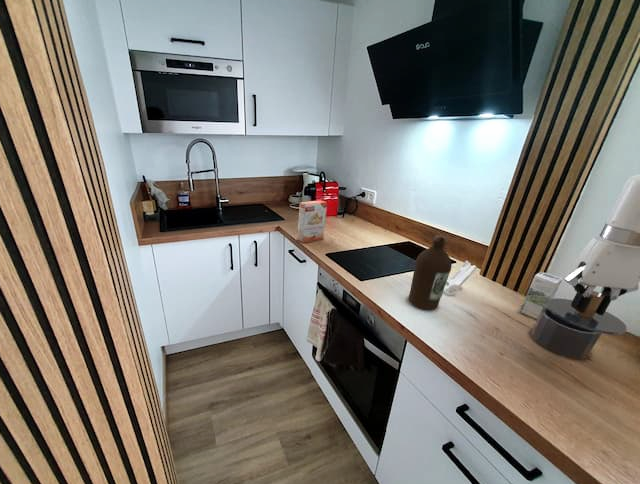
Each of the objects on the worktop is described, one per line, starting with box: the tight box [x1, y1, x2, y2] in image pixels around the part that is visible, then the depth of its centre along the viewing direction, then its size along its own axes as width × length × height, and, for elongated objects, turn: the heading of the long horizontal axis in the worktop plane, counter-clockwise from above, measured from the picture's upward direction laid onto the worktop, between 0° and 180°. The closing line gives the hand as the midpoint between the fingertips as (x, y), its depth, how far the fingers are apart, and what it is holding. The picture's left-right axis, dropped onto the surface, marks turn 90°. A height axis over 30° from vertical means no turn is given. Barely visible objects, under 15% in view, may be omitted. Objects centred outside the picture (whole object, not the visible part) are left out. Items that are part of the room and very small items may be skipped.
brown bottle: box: [408, 234, 452, 311], centre depth 95 cm, size 11×11×25 cm
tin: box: [530, 307, 603, 360], centre depth 81 cm, size 12×12×8 cm
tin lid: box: [546, 290, 628, 336], centre depth 66 cm, size 13×13×7 cm
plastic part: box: [443, 260, 478, 296], centre depth 107 cm, size 8×10×12 cm
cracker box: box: [297, 200, 328, 244], centre depth 152 cm, size 14×6×21 cm, turn 120°
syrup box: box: [519, 271, 563, 321], centre depth 93 cm, size 6×6×14 cm
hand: (586, 309), depth 66 cm, fingers closed on tin lid, 3 cm apart
